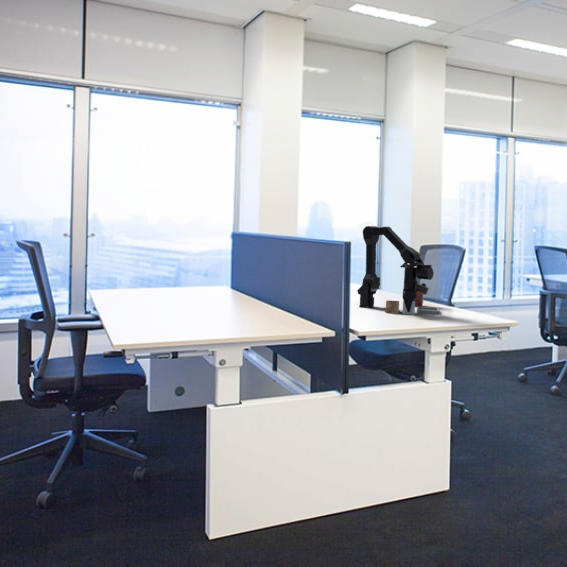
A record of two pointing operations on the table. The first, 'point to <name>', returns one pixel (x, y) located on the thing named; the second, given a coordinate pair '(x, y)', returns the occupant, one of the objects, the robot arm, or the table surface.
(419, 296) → the mug
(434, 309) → the tray
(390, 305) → the open wooden cubby box
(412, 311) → the blue-gray cube
